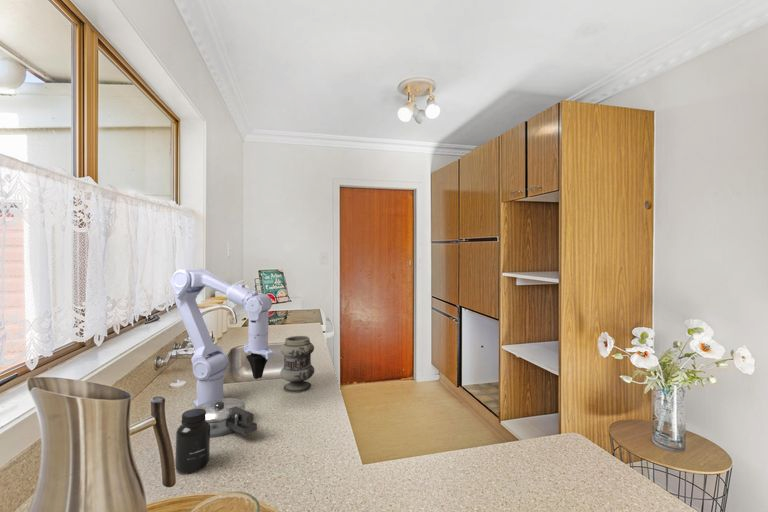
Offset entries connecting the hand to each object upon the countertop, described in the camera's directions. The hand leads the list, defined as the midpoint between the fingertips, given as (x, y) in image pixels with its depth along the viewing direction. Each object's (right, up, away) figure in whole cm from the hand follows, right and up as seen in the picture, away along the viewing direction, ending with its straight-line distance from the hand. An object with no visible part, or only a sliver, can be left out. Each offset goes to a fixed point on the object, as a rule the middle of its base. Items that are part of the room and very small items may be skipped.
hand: (257, 377), depth 108 cm
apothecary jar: (+8, -10, +19) cm, 23 cm away
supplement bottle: (-4, -10, -29) cm, 31 cm away
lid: (-4, -6, -12) cm, 14 cm away
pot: (-4, -10, -12) cm, 16 cm away
